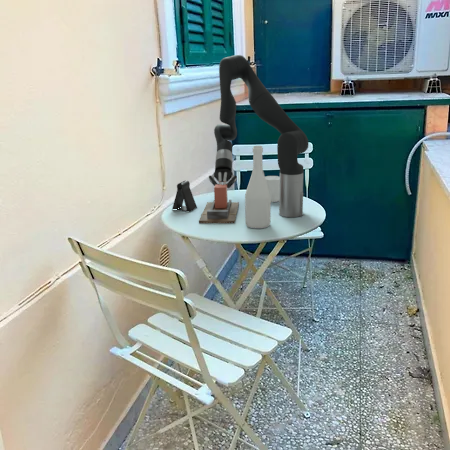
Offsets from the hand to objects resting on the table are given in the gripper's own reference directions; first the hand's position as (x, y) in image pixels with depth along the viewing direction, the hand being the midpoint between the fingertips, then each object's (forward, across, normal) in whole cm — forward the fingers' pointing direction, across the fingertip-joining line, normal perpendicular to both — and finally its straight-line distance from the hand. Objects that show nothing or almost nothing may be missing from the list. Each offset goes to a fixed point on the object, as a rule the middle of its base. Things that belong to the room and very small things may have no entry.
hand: (221, 195), depth 190 cm
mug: (-5, +20, +13) cm, 24 cm away
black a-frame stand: (+6, -16, +2) cm, 17 cm away
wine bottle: (+20, +16, -13) cm, 29 cm away
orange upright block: (+5, 0, +1) cm, 5 cm away
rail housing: (+10, 0, -2) cm, 10 cm away
